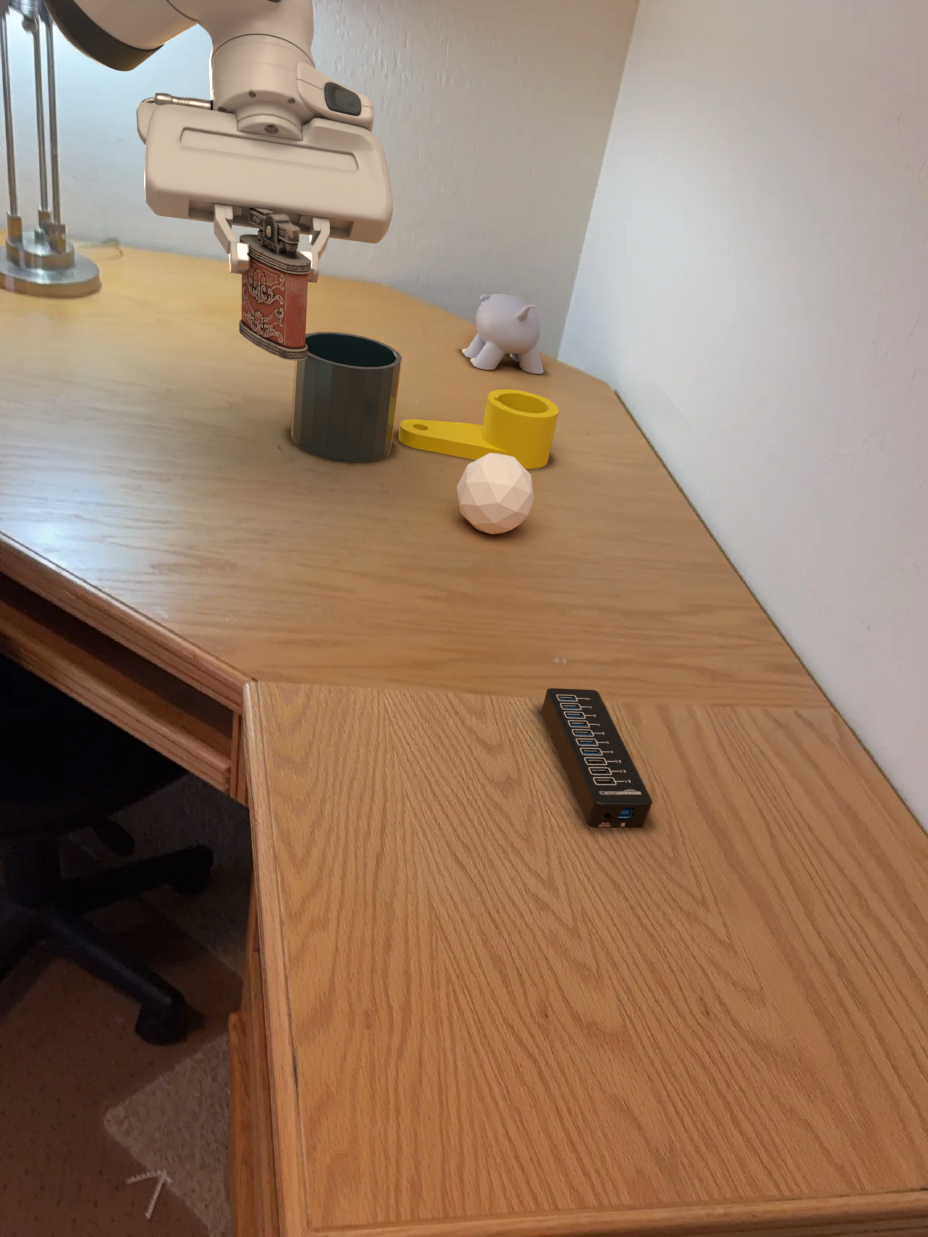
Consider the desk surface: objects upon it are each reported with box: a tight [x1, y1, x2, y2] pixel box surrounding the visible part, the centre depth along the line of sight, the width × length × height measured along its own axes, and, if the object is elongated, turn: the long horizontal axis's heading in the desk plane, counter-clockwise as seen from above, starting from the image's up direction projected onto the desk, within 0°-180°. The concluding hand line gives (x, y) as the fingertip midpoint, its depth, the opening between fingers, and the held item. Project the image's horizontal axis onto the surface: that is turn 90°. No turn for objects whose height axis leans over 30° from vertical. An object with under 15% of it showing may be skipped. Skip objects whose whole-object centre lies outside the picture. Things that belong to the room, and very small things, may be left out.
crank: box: [397, 388, 560, 470], centre depth 123 cm, size 18×8×6 cm, turn 97°
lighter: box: [238, 208, 311, 362], centre depth 89 cm, size 8×3×10 cm, turn 43°
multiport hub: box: [540, 687, 653, 829], centre depth 80 cm, size 4×14×2 cm, turn 12°
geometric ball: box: [455, 453, 535, 535], centre depth 107 cm, size 8×8×8 cm
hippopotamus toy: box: [461, 293, 545, 375], centre depth 149 cm, size 11×15×10 cm
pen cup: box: [290, 331, 403, 464], centre depth 116 cm, size 11×11×10 cm
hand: (275, 274), depth 88 cm, fingers closed on lighter, 4 cm apart
